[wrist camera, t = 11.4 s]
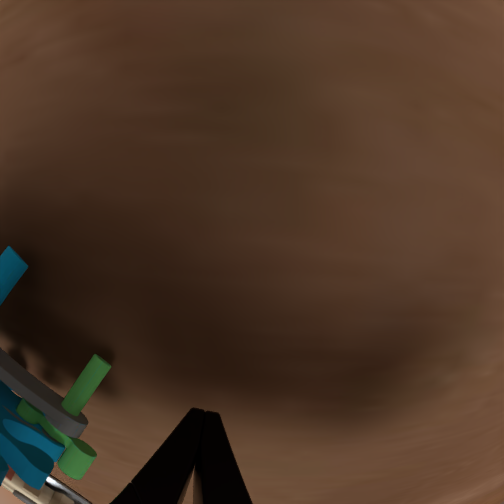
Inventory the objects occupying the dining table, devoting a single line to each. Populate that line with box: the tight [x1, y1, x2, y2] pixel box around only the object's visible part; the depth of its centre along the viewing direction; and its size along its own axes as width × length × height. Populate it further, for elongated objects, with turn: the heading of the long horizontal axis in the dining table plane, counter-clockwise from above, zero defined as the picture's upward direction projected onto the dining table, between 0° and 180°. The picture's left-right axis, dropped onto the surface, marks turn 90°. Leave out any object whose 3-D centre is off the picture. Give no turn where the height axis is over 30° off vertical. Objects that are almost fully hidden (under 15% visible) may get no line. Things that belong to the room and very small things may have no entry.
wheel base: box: [45, 474, 91, 504], centre depth 17 cm, size 16×16×1 cm
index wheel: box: [1, 465, 74, 504], centre depth 13 cm, size 14×18×7 cm
